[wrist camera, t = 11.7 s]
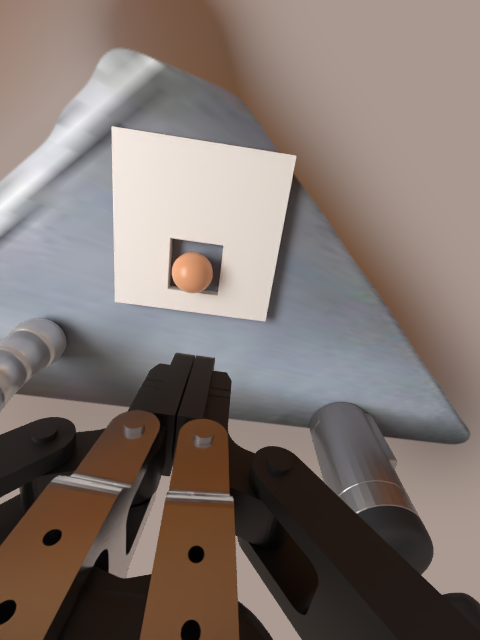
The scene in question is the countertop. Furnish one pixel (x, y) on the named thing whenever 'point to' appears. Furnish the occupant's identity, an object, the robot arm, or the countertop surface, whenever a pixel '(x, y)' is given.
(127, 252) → the white square board
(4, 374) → the plastic bottle
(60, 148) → the countertop surface
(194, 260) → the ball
